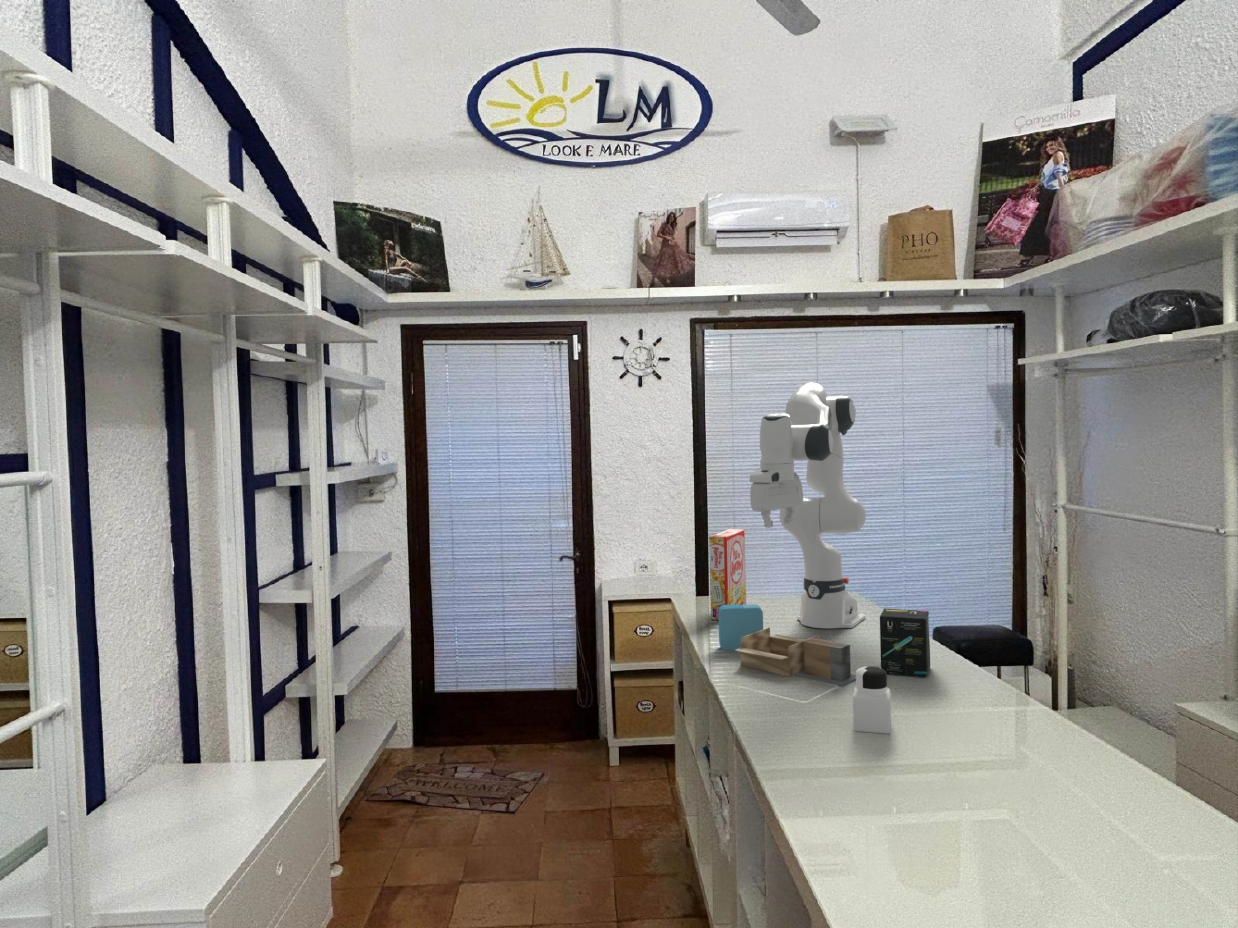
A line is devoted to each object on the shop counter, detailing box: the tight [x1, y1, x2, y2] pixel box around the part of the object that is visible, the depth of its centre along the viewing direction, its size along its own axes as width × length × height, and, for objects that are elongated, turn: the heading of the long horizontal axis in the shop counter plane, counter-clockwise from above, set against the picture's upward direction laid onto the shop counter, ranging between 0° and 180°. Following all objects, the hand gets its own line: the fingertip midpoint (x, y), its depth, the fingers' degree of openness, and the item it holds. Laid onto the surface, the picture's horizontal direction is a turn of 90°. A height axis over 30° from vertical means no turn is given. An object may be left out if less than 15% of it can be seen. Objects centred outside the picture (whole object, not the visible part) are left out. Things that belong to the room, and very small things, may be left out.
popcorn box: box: [708, 528, 747, 621], centre depth 268 cm, size 20×6×27 cm, turn 155°
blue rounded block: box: [718, 603, 764, 651], centre depth 226 cm, size 12×4×12 cm, turn 87°
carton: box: [734, 627, 818, 677], centre depth 209 cm, size 19×15×8 cm
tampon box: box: [879, 608, 931, 679], centre depth 201 cm, size 11×9×15 cm
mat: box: [794, 669, 856, 688], centre depth 199 cm, size 9×13×1 cm
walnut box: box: [804, 638, 852, 682], centre depth 199 cm, size 4×10×8 cm, turn 46°
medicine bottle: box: [852, 665, 892, 735], centre depth 166 cm, size 7×7×12 cm
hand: (778, 525), depth 218 cm, fingers open, 8 cm apart
